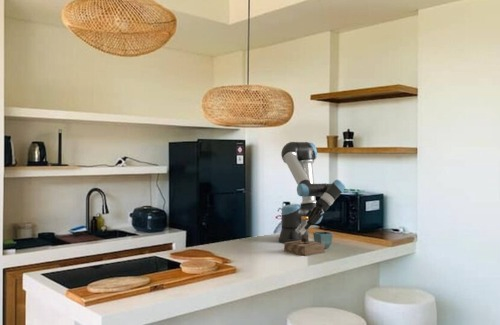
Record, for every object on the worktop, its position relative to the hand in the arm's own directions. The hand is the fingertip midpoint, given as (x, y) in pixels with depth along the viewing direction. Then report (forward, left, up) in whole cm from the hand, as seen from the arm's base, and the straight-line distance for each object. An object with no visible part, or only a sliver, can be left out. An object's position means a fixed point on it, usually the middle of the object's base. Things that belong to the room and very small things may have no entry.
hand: (298, 232), depth 267 cm
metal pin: (+1, +4, -5) cm, 6 cm away
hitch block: (+1, +4, -11) cm, 12 cm away
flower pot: (-1, +22, -12) cm, 25 cm away
